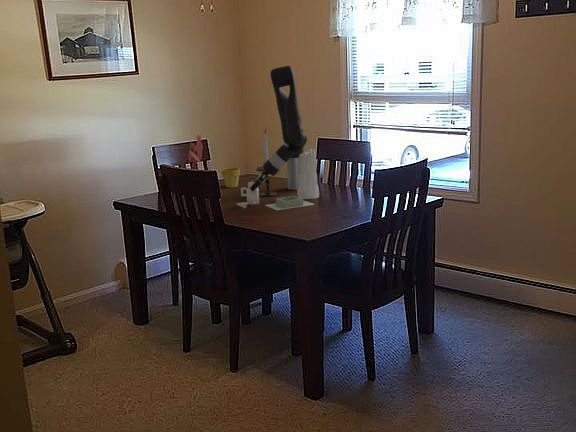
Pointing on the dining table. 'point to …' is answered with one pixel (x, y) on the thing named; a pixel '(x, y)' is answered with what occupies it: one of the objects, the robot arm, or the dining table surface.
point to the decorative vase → (308, 176)
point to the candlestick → (267, 181)
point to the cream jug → (251, 194)
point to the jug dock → (288, 203)
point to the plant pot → (231, 177)
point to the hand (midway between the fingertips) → (252, 188)
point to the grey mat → (242, 204)
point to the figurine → (198, 149)
